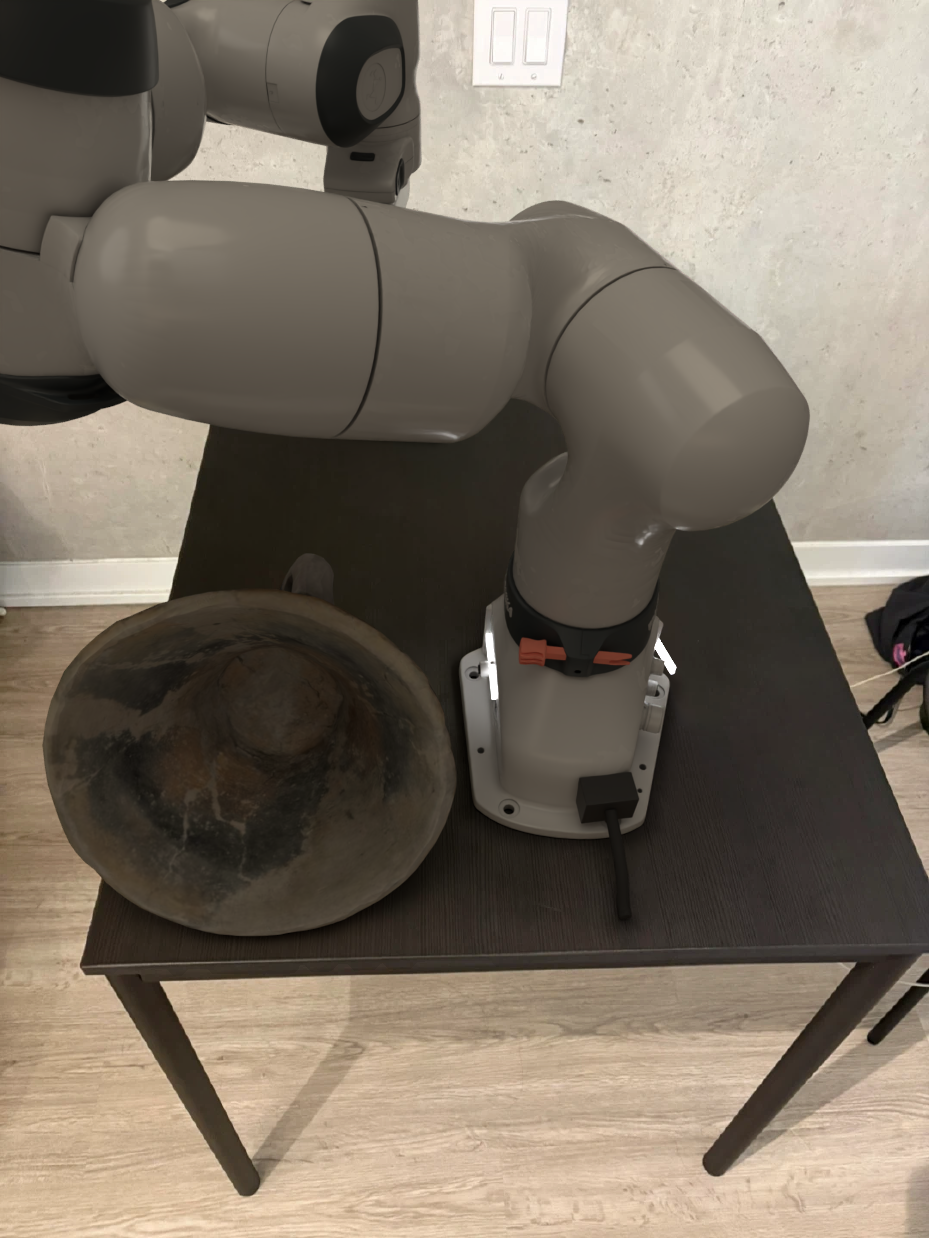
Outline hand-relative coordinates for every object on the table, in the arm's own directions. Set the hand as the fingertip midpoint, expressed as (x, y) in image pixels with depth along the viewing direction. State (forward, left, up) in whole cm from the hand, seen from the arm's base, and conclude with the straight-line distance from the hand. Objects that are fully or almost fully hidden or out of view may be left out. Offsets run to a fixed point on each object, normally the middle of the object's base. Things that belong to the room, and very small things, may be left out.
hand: (381, 282), depth 91 cm
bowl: (-45, +2, -11) cm, 46 cm away
